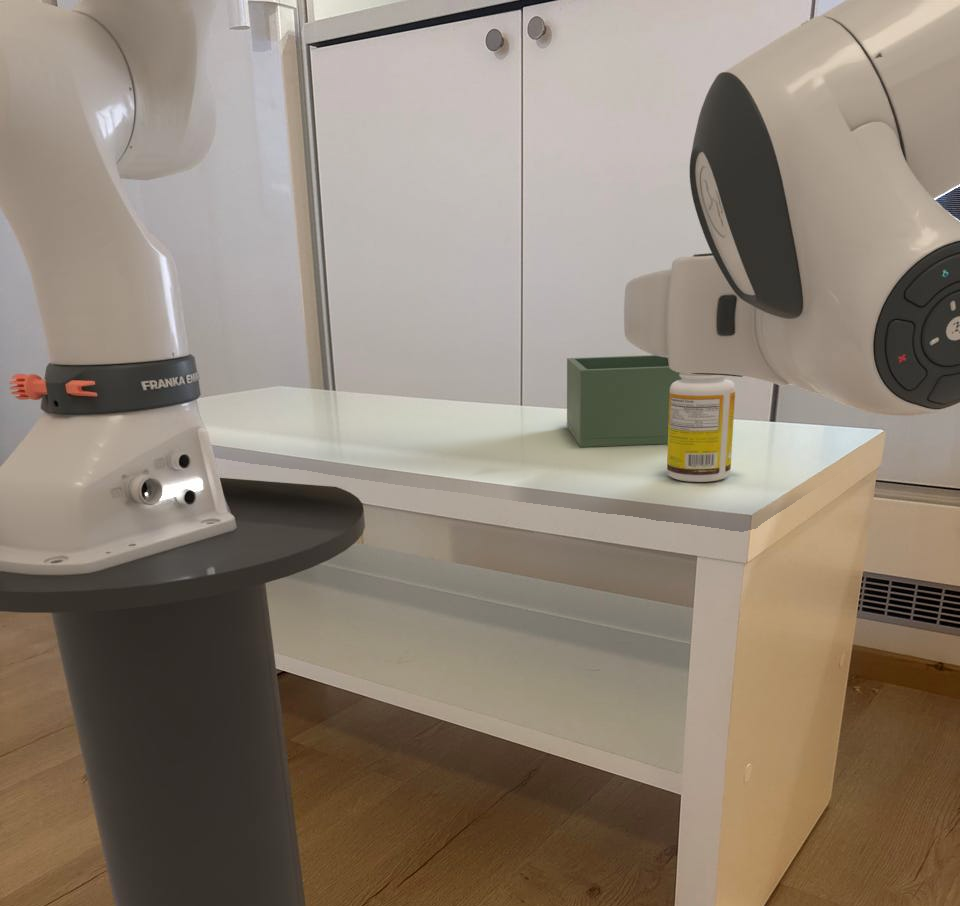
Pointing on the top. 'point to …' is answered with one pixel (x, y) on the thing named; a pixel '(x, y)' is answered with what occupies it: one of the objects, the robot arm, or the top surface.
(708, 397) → the supplement bottle
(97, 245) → the robot arm
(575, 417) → the storage box
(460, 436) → the top surface
